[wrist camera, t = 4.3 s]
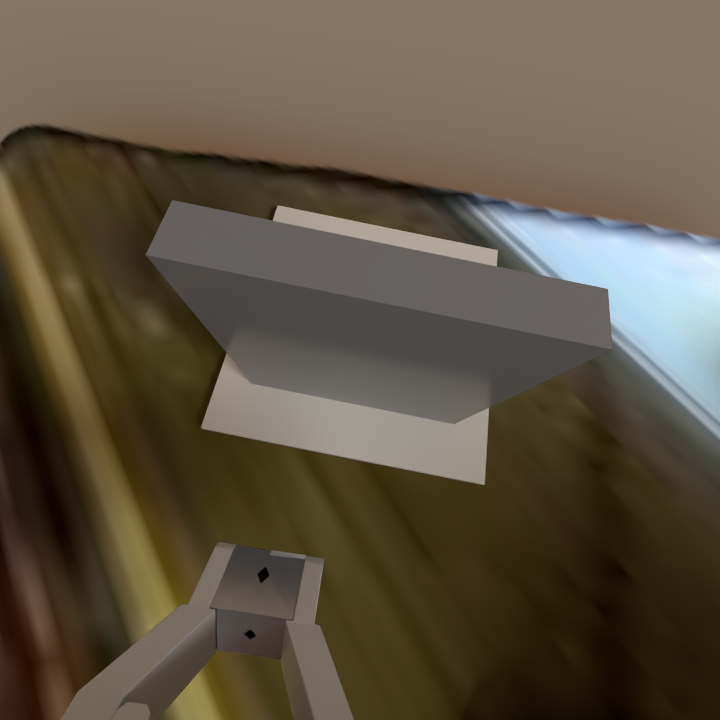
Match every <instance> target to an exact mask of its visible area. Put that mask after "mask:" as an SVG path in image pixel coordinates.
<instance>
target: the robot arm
mask: <svg viewBox="0 0 720 720" xmlns="http://www.w3.org/2000/svg"><path fill="white" fill-rule="evenodd" d="M305 558H306V559H305ZM323 563H324V558H318V557H311V556H306V555H301V554H294V553H287V552H280V551H270V550H264V549H258V548H252V547H246V546H240V545H236V544H229V543H223V542H218V544H217V545H216V546H215V548H214V550H213V552H212V554H211V556H210V558H209V560H208V562H207V564H206V567H205V569H204V571H203V573H202V575H201V577H200V579H199V581H198V583H197V586H196V588H195V590H194V592H193V594H192V596H191V598H190V600H189V602H188V605H186V604H181V605H180V606H179V607H178V608H176V609H175V610H174V611H173V612H172V613H171V614H169V615H168V616H167V617H166V618H165V619H163V620H162V621H161V622H160V623H159V624H157V625H156V626H155V627H154V628H153V629H152V630H150V631H149V632H148V633H147V634H146V635H144V636H143V637H142V638H141V639H140V640H139V641H137V642H136V643H135V644H134V645H133V646H131V647H130V648H129V649H128V650H127V651H125V652H124V653H123V654H122V655H121V656H120V657H118V658H117V659H116V660H115V661H114V662H112V663H111V664H110V665H109V666H108V667H107V668H105V669H104V670H103V671H102V672H101V673H99V674H98V675H97V676H96V677H95V678H93V679H92V680H91V681H90V682H89V683H88V684H86V685H85V686H84V687H83V688H82V689H80V690H79V691H78V692H77V694H76V696H75V697H74V699H73V700H72V702H71V704H70V705H69V707H68V708H67V710H66V712H65V713H64V715H63V717H62V718H61V720H158V718H159V717H160V716H161V715H162V714H163V713H164V712H165V710H166V709H167V708H168V707H169V706H170V705H171V703H172V702H173V701H174V700H175V699H176V698H177V697H178V695H179V694H180V693H181V692H182V691H183V690H184V689H185V687H186V686H187V685H188V684H189V683H190V682H191V680H192V679H193V678H194V677H195V676H196V675H197V674H198V672H199V671H200V670H201V669H202V668H203V667H204V666H205V664H206V663H207V662H208V661H209V660H210V659H211V657H212V656H213V655H214V654H215V653H216V650H221V651H229V652H238V653H247V654H253V655H258V656H264V657H269V658H275V659H280V660H281V666H282V670H283V675H284V679H285V684H286V688H287V693H288V697H289V702H290V706H291V711H292V715H293V720H354V719H353V716H352V713H351V711H350V708H349V705H348V702H347V699H346V697H345V694H344V691H343V688H342V686H341V683H340V680H339V677H338V674H337V672H336V669H335V666H334V663H333V661H332V658H331V655H330V652H329V650H328V647H327V644H326V641H325V638H324V636H323V633H322V630H321V627H320V625H316V624H314V623H315V617H316V610H317V603H318V597H319V590H320V583H321V577H322V570H323Z"/></svg>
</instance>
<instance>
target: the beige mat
mask: <svg viewBox="0 0 720 720" xmlns="http://www.w3.org/2000/svg"><path fill="white" fill-rule="evenodd" d="M273 221H276V222H281V223H286V224H291V225H296V226H301V227H306V228H311V229H316V230H321V231H325V232H330V233H335V234H340V235H345V236H350V237H355V238H360V239H365V240H370V241H374V242H379V243H384V244H389V245H394V246H399V247H404V248H409V249H414V250H419V251H423V252H428V253H433V254H438V255H443V256H448V257H453V258H458V259H463V260H468V261H473V262H477V263H482V264H487V265H492V266H497V252H498V250H493V249H488V248H483V247H478V246H473V245H469V244H464V243H459V242H454V241H449V240H444V239H439V238H434V237H429V236H425V235H420V234H415V233H410V232H405V231H400V230H395V229H390V228H385V227H381V226H376V225H371V224H366V223H361V222H356V221H351V220H346V219H341V218H336V217H332V216H327V215H322V214H317V213H312V212H307V211H302V210H297V209H292V208H288V207H283V206H277V209H276V212H275V215H274V218H273ZM488 415H489V408H487V409H485V410H483V411H481V412H479V413H477V414H475V415H473V416H471V417H468V418H466V419H464V420H462V421H460V422H458V423H456V424H451V423H446V422H441V421H436V420H431V419H426V418H421V417H416V416H411V415H406V414H401V413H396V412H391V411H386V410H381V409H376V408H371V407H366V406H361V405H356V404H351V403H346V402H341V401H336V400H331V399H326V398H321V397H316V396H311V395H306V394H301V393H296V392H291V391H286V390H281V389H276V388H271V387H266V386H261V385H256V384H252V383H251V382H250V380H249V379H248V378H247V377H246V376H245V374H244V373H243V372H242V371H241V370H240V368H239V367H238V366H237V365H236V364H235V362H234V361H233V360H232V359H231V358H230V356H229V355H228V354H226V356H225V359H224V362H223V365H222V368H221V371H220V374H219V377H218V379H217V382H216V385H215V388H214V391H213V394H212V397H211V400H210V403H209V405H208V408H207V411H206V414H205V417H204V420H203V423H202V426H201V428H202V429H204V430H209V431H214V432H219V433H224V434H229V435H234V436H239V437H244V438H249V439H254V440H259V441H264V442H269V443H274V444H279V445H284V446H289V447H294V448H299V449H304V450H309V451H314V452H319V453H324V454H329V455H334V456H339V457H344V458H349V459H354V460H359V461H364V462H369V463H374V464H379V465H384V466H389V467H395V468H400V469H405V470H410V471H415V472H420V473H425V474H430V475H435V476H440V477H445V478H450V479H455V480H460V481H465V482H470V483H475V484H480V485H485V470H486V452H487V433H488Z"/></svg>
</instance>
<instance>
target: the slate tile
mask: <svg viewBox="0 0 720 720" xmlns="http://www.w3.org/2000/svg"><path fill="white" fill-rule="evenodd" d="M146 256H147V257H148V258H149V260H150V261H151V262H152V263H153V264H154V266H155V267H156V268H157V269H158V270H159V272H160V273H161V274H162V275H163V277H164V278H165V279H166V280H167V281H168V283H169V284H170V285H171V286H172V287H173V289H174V290H175V291H176V292H177V293H178V295H179V296H180V297H181V298H182V300H183V301H184V302H185V303H186V304H187V306H188V307H189V308H190V309H191V310H192V312H193V313H194V314H195V315H196V316H197V318H198V319H199V320H200V321H201V322H202V324H203V325H204V326H205V327H206V329H207V330H208V331H209V332H210V333H211V335H212V336H213V337H214V338H215V339H216V341H217V342H218V343H219V344H220V345H221V347H222V348H223V349H224V350H225V351H226V353H227V354H228V355H229V356H230V358H231V359H232V360H233V361H234V362H235V364H236V365H237V366H238V367H239V368H240V370H241V371H242V372H243V373H244V374H245V376H246V377H247V378H248V379H249V380H250V382H251V383H252V384H256V385H261V386H266V387H271V388H276V389H281V390H286V391H291V392H296V393H301V394H306V395H311V396H316V397H321V398H326V399H331V400H336V401H341V402H346V403H351V404H356V405H361V406H366V407H371V408H376V409H381V410H386V411H391V412H396V413H401V414H406V415H411V416H416V417H421V418H426V419H431V420H436V421H441V422H446V423H451V424H456V423H458V422H460V421H462V420H464V419H466V418H468V417H471V416H473V415H475V414H477V413H479V412H481V411H483V410H485V409H487V408H490V407H492V406H494V405H496V404H498V403H500V402H502V401H504V400H507V399H509V398H511V397H513V396H515V395H517V394H519V393H521V392H524V391H526V390H528V389H530V388H532V387H534V386H536V385H538V384H540V383H543V382H545V381H547V380H549V379H551V378H553V377H555V376H557V375H560V374H562V373H564V372H566V371H568V370H570V369H572V368H574V367H577V366H579V365H581V364H583V363H585V362H587V361H589V360H591V359H594V358H596V357H598V356H600V355H602V354H604V353H606V352H608V351H610V350H612V337H611V324H610V311H609V298H608V289H605V288H600V287H595V286H590V285H585V284H580V283H575V282H571V281H566V280H561V279H556V278H551V277H546V276H541V275H536V274H531V273H526V272H522V271H517V270H512V269H507V268H502V267H497V266H492V265H487V264H482V263H477V262H473V261H468V260H463V259H458V258H453V257H448V256H443V255H438V254H433V253H428V252H423V251H419V250H414V249H409V248H404V247H399V246H394V245H389V244H384V243H379V242H374V241H370V240H365V239H360V238H355V237H350V236H345V235H340V234H335V233H330V232H325V231H321V230H316V229H311V228H306V227H301V226H296V225H291V224H286V223H281V222H276V221H272V220H267V219H262V218H257V217H252V216H247V215H242V214H237V213H232V212H227V211H223V210H218V209H213V208H208V207H203V206H198V205H193V204H188V203H183V202H178V201H174V200H172V202H171V204H170V206H169V208H168V210H167V212H166V214H165V216H164V218H163V220H162V222H161V224H160V226H159V229H158V231H157V233H156V235H155V237H154V239H153V241H152V243H151V245H150V247H149V249H148V251H147V253H146Z"/></svg>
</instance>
